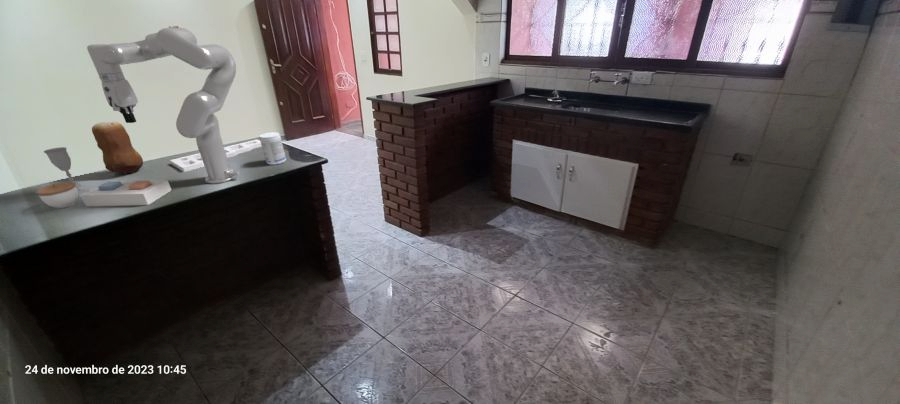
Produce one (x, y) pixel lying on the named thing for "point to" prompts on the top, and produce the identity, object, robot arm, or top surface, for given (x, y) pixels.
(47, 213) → the top surface
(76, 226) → the top surface
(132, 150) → the butternut squash
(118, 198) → the key panel
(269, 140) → the supplement tub
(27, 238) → the top surface
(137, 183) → the terracotta key
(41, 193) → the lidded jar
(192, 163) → the holder
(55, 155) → the chalice
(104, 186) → the slate-blue key
